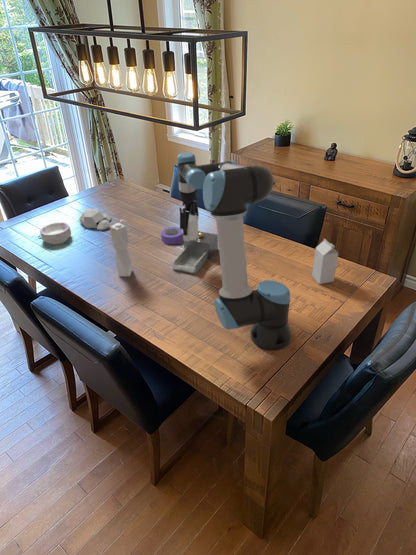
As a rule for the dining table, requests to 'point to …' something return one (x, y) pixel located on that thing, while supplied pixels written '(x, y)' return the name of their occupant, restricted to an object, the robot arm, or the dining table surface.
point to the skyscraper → (121, 248)
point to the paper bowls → (55, 233)
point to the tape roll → (176, 235)
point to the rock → (95, 219)
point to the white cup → (193, 227)
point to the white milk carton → (325, 263)
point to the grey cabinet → (196, 253)
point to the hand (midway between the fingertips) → (190, 236)
